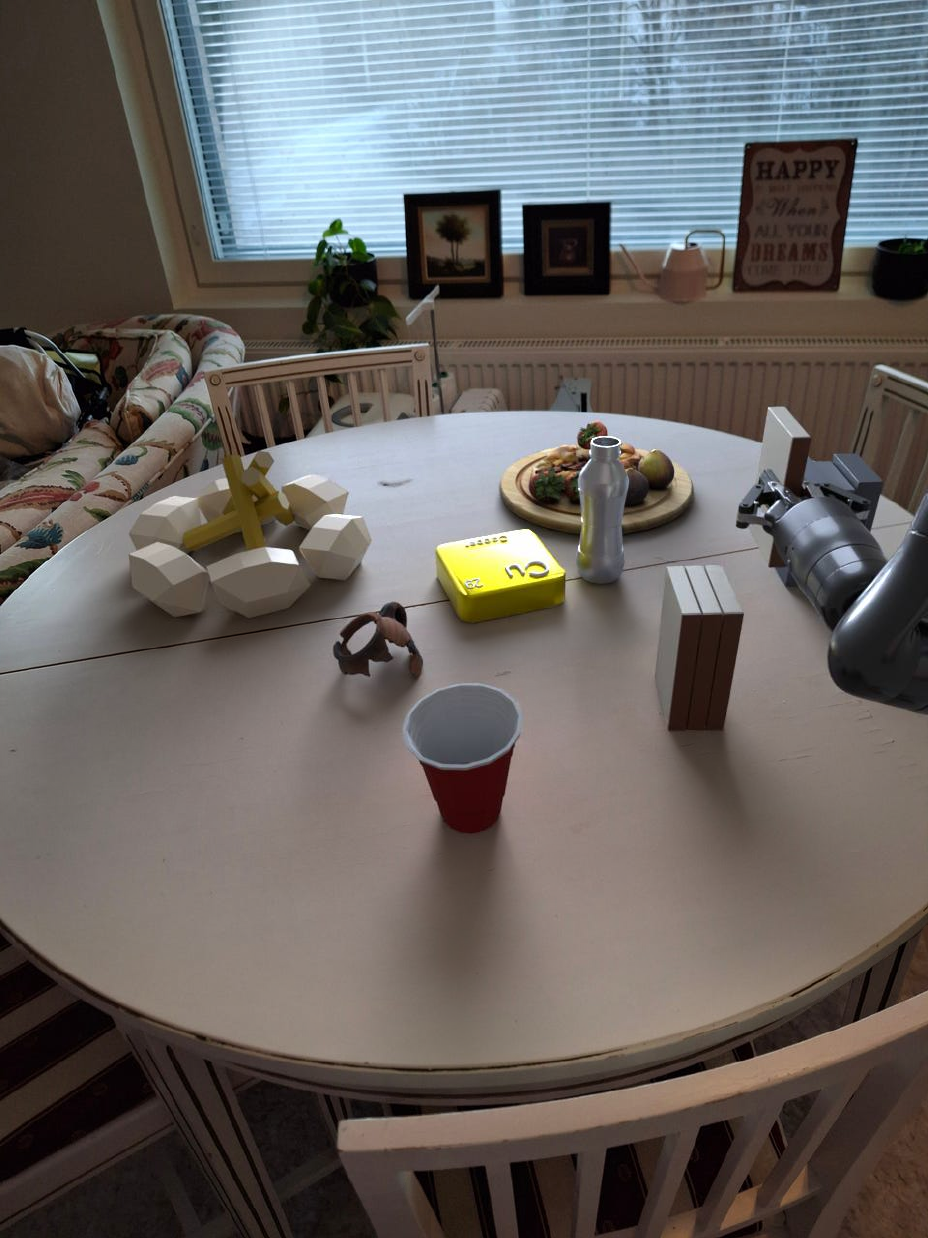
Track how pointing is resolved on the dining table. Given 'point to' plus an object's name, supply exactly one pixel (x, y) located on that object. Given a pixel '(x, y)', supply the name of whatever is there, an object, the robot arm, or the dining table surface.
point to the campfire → (260, 571)
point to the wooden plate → (552, 493)
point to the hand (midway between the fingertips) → (776, 476)
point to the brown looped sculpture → (377, 641)
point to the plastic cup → (465, 750)
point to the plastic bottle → (602, 512)
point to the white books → (697, 647)
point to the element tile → (499, 575)
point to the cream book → (781, 468)
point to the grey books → (848, 476)
